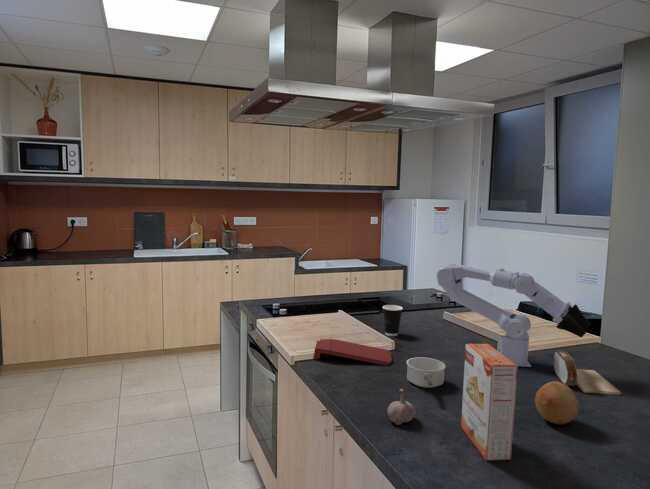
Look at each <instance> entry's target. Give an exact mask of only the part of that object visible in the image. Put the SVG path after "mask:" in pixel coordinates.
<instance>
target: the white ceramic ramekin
mask: <svg viewBox="0 0 650 489" xmlns="http://www.w3.org/2000/svg"><path fill="white" fill-rule="evenodd" d="M405 363H406V365H407V368H406V369H407V370H406V378H407V381H408V382H410V383H412V384H413V385H415V386H417V387H421V388H432V389H433V388H436V387H438V386H439V387H440V386H441V385H443V384H444V382H445V369H446V368H447V365H446V364H445V363H444V362H443V361H441V360H438V359H436V358H431V357H424V356H420V357H418V356H417V357H412V358H409V359H407V360H406V362H405Z"/></svg>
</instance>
